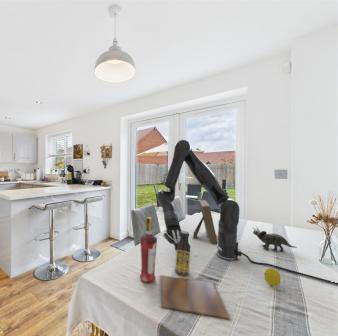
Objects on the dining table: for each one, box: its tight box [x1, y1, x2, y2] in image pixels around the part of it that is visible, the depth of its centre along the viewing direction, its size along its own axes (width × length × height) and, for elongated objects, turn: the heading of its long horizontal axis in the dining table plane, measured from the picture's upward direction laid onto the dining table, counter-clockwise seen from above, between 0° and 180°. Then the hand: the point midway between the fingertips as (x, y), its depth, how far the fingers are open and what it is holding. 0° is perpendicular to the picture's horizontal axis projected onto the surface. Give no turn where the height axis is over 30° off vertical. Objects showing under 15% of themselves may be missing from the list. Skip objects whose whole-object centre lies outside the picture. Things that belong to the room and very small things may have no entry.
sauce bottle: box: [174, 230, 191, 276], centre depth 94 cm, size 7×6×20 cm
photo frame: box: [192, 199, 218, 244], centre depth 141 cm, size 15×22×25 cm
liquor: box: [139, 216, 158, 284], centre depth 87 cm, size 7×7×28 cm
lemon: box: [263, 267, 282, 287], centre depth 85 cm, size 6×6×8 cm
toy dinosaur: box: [252, 226, 298, 252], centre depth 122 cm, size 22×8×11 cm, turn 47°
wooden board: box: [160, 275, 230, 320], centre depth 78 cm, size 22×20×1 cm
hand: (178, 251), depth 98 cm, fingers closed
